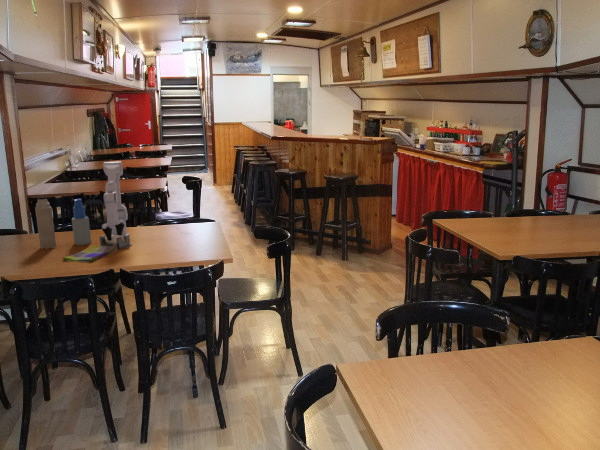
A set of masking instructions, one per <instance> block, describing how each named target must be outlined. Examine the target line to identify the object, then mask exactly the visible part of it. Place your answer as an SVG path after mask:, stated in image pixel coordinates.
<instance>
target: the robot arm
mask: <svg viewBox="0 0 600 450" xmlns="http://www.w3.org/2000/svg"><path fill="white" fill-rule="evenodd" d="M102 167H103V172H104V174H105V176H107V182H106V183H105V191H104V193H103V203H104V207H105V212H106V220H107V221H106V223H103V224H101V230H102V231H103V233H104V235H105V237H107V240H108V241H111V240H112V237H111V233H112V234H113V235H119V236H123V237H124V236H125V235H129V236H130V235H131V234H130V233H127V222H126V221H127V220H128V219H129V218H128V217H129V216H128V210H127V208H128V207H126V206H125V205H123V204H122V195H121V186H120V185H121V184H120V178H121V176H123V174H124V169H123V168H124V166H123V162H122V161H121V160H119V161H104V162H103V164H102Z"/></svg>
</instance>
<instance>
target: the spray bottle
mask: <svg viewBox="0 0 600 450" xmlns="http://www.w3.org/2000/svg"><path fill="white" fill-rule="evenodd" d="M73 201H74V204H73V207H72V210H73V211H72V212H73V217H72V218H71V225H72V226H71V228H72V235H73V242H74V245H75V244H76V245H75V246H85V245H89V244H91V243H92V239H91V238H92V237H91V236H92V235H91V227H90V226H91V225H90V220H89V219H90V218H89V216H87V215H86V207H85V205H84V204H83V202H82V201H83V200H82V198H76V199H74V200H73Z"/></svg>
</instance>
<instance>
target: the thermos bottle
mask: <svg viewBox="0 0 600 450" xmlns="http://www.w3.org/2000/svg"><path fill="white" fill-rule="evenodd" d="M36 200H37V201H36V203H35V207H34V209H35V217H36V226H37V232H38V239H39V241H38V242H39V249H41V248H45V249H44V250H47V249H46V248H51V249H54V248H53V247H55V248H56V247H57V242H56V234H55V227H54V216H53V210H52V206H50V205H51V204H50V202H49V201H48V196H38V197H36Z"/></svg>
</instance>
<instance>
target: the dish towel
mask: <svg viewBox="0 0 600 450" xmlns="http://www.w3.org/2000/svg"><path fill="white" fill-rule="evenodd" d="M117 249H118V247H115V246H100V245H95V244H94V245H90V246H88V247H87V248H85V249H83V250H81V251H79V252H76V253H74V254H71V255H68V256H63V257H62V260H64V261H65V260H66V261H65V262H71V261H74V262H73V263H87V264H89V263H93V262H96V261H97V260H99V259H102V258H105V257H106V256H110V255H112V254H114V253H116V252H117V251H119V250H117Z"/></svg>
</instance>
